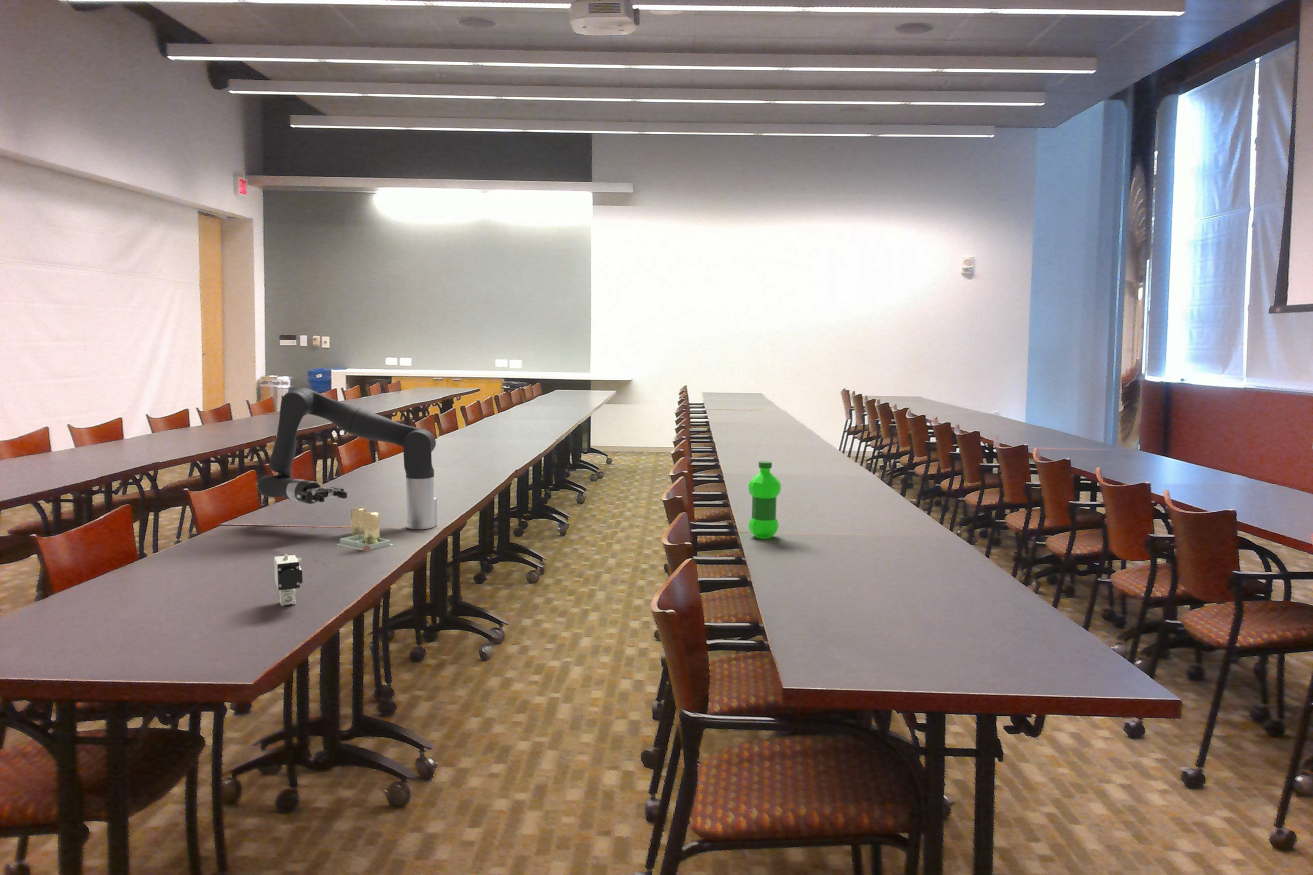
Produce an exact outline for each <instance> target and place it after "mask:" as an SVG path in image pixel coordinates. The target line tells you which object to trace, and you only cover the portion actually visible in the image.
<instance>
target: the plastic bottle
mask: <svg viewBox="0 0 1313 875" xmlns="http://www.w3.org/2000/svg"><path fill="white" fill-rule="evenodd" d="M772 467H773V462H772V461H768V460H767V461H764V460H763V461H758V469H759V470H760V471H759V473H757V474H756V475H755V476H754V477H753V478H752V479H751V480H750V481H749V484H748V491H749V492H748V493H749V494H750V495H751V497H752V499H751V500H752V501H751V505H752V506H751V518H750V520H749V523H748V529H749V531H750V533H751V534H752V535H753V536H754V537H755V538H757V539H761V540H762V539H763V540H768V539H771V538H772V537H774V536H775V534H776V533H777V532H778V530H779V528H780V527H779V526H780V525H779V521H778V519H777V498H778V496H779V495H780V493H781V488H782V487H781V486H782V485H781V482H780V480H779V479H778V478H777V477H776V476H775V475H774V474H772V473H771V469H772Z"/></svg>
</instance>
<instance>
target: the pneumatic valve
mask: <svg viewBox="0 0 1313 875" xmlns="http://www.w3.org/2000/svg"><path fill="white" fill-rule="evenodd" d="M300 563H302V558H301V557H297V556H296V555H295V553H293V554H282V555H275V556H273V571H274V574H273V576H274V583H275V585H276V588H277V590H278V592H279V601H278V602H279V604H280V606H281V607H284V606H288V605H293V606H294V604H295V605H296V604H297V601H296V594H297V592H296V589H300V588H301V586H300V585H301V584H303V569H302V568H301V566H300Z"/></svg>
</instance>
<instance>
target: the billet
mask: <svg viewBox="0 0 1313 875" xmlns="http://www.w3.org/2000/svg"><path fill="white" fill-rule="evenodd" d="M366 512H367V508H366V507H353V508H351V510H350V518H351V536H355V535H359V534H361V535H364V520H363V513H366Z"/></svg>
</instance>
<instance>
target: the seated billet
mask: <svg viewBox="0 0 1313 875" xmlns="http://www.w3.org/2000/svg"><path fill="white" fill-rule="evenodd" d="M363 520H364V543H366V544H374V543H378V542H380V538H381V537H380V534H381V533H380V531H381V530H380V512H379V511H366V513H363Z"/></svg>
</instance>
